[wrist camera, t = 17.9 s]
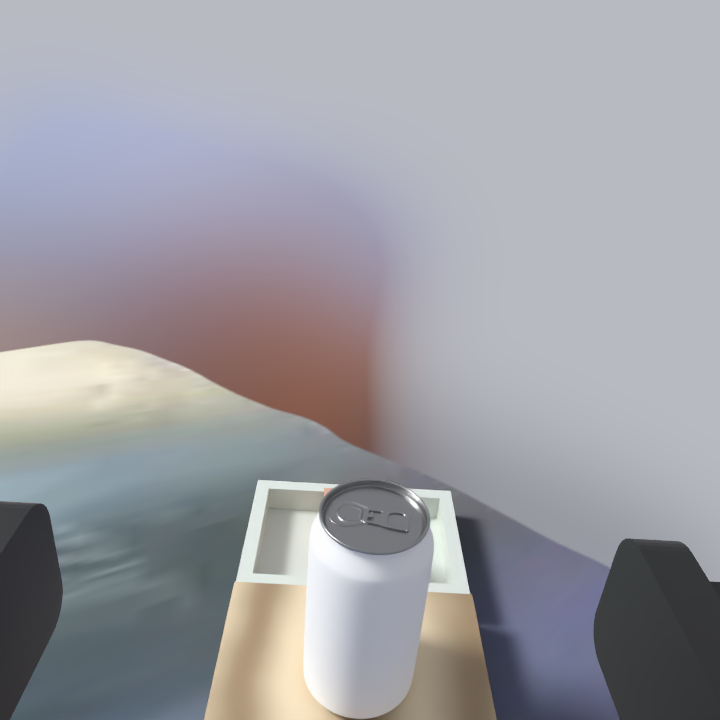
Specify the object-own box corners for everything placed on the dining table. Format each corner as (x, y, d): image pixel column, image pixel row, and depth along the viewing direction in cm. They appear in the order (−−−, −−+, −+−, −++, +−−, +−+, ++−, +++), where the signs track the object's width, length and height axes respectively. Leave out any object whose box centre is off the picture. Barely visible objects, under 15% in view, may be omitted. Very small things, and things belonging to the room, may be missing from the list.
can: (313, 618, 42) (322, 465, 36) (415, 635, 41) (440, 482, 36) (290, 713, 36) (297, 548, 30) (408, 734, 35) (437, 569, 30)
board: (197, 796, 35) (194, 762, 33) (235, 613, 45) (234, 581, 44) (497, 809, 35) (507, 776, 34) (465, 625, 46) (472, 594, 44)
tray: (235, 609, 46) (235, 583, 44) (258, 503, 55) (258, 480, 54) (465, 621, 46) (470, 595, 45) (446, 514, 56) (450, 491, 55)
